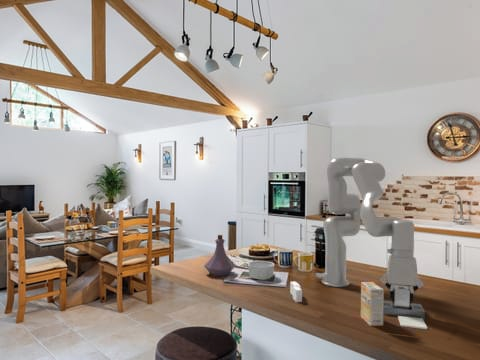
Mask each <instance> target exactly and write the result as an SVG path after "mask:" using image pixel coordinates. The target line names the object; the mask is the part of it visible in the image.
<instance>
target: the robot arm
mask: <svg viewBox="0 0 480 360" xmlns="http://www.w3.org/2000/svg"><path fill="white" fill-rule="evenodd" d="M326 176H327V184H328V185H327V186H328V187H327V210H328V212H329V213H331V214H334V215H343V216H331V217H327V218H326V219H325V220H324V222H323V233H324V239H325V241H324V242H325V244H324V245H325V256H324V257H325V261H324V263H325V267H324V269H325V271H324V272H322V273H320V272H316V273H315V278H318V279H321V283H322V284H323V285H324V286H328V287H332V288H333V287H335V288H344V287H348V286H349V285H350V281H349V280H348V279H347V245H346V242H345V240H344V239H343V237H353V236H356V235H358V234H359V232H360V230H361V229H360V228H361V222H362V224H363V226H364V228H365V231H366V232H367V233H368V234H369V235H370V236H371V237H374V238H383V237H391V245H390V246H391V247H390V248H387V249H386V250H387V251H386V253H387V254H390V255H389V257H388V261H387V268H386V272H385V273H384V275H383V276H382V277H381V278H380V282H381V283H382V284H383V285H384V286H386V288H387V289H389V299H390V300H391V301H392V302H394V287H395V285H397V286H407V287H408V288H409V290H410V302H409V304H411V303H412V302H413V301H414V300H413V299H414V293H415V292H416V291H417V290H419V289H420V288H422V287H424V283H423V281H422V280H421V279H420V277H419V276H418V264H417V259H416V257H414V253H415V252H414V250H415V249H414V245H415V243H414V242H415V224H414V222H413V221H412V220H409V219H401V218H399V217H396V216H380V217H379V216H377V215H376V213H375V211H374V207H373V203H374V202H375V201H377V200H379V199H380V198H381V197H382V196H383V195H384V190H383V188H382V186H381V184H380V182H382V181H383V180H384V179H385V178H386V170H385V167H384V165H382V164H381V163H380V162H377V161H373V160H369V159H366V158H361V157H336V158H333V159H331V160H330V161H329V162H328V165H327V167H326ZM344 177H352V178H353V180H354V182H355V184H356V187H357V188H358V189H357V190H358V191H359V193H360V195H361V198H362V201H361V200H360V198H359V196H358V195H356V194H354V193H348V191H347V190H348V184H347V181H346V179H345V178H344ZM344 215H345V216H344Z"/></svg>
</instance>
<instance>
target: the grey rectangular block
mask: <svg viewBox="0 0 480 360" xmlns="http://www.w3.org/2000/svg"><path fill="white" fill-rule="evenodd" d="M409 302H410V290H409V286H405V285H395V287H394V302H393V306H394V308H402V309H409Z"/></svg>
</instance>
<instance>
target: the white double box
mask: <svg viewBox="0 0 480 360" xmlns="http://www.w3.org/2000/svg"><path fill="white" fill-rule="evenodd" d="M289 284H290V286H289V287H290V288H289V293H290V294H291V295H292V299H293V300H294V302H295V303H302V302H303V289H302V286H301V285H300V284H299V283H298V282H297V281H290V283H289Z"/></svg>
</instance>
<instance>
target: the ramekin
mask: <svg viewBox="0 0 480 360" xmlns="http://www.w3.org/2000/svg"><path fill="white" fill-rule="evenodd" d="M247 266H248V274H249V275H248V276H249V277H250V278H251V277H252V278H256V279H268V278H271V277H272V278H273V276H274V271H275V270H274V269H275V263H274V262H272V261H266V260H252V261H250V262H248V263H247ZM252 278H251V279H252ZM272 278H271V279H272Z"/></svg>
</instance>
